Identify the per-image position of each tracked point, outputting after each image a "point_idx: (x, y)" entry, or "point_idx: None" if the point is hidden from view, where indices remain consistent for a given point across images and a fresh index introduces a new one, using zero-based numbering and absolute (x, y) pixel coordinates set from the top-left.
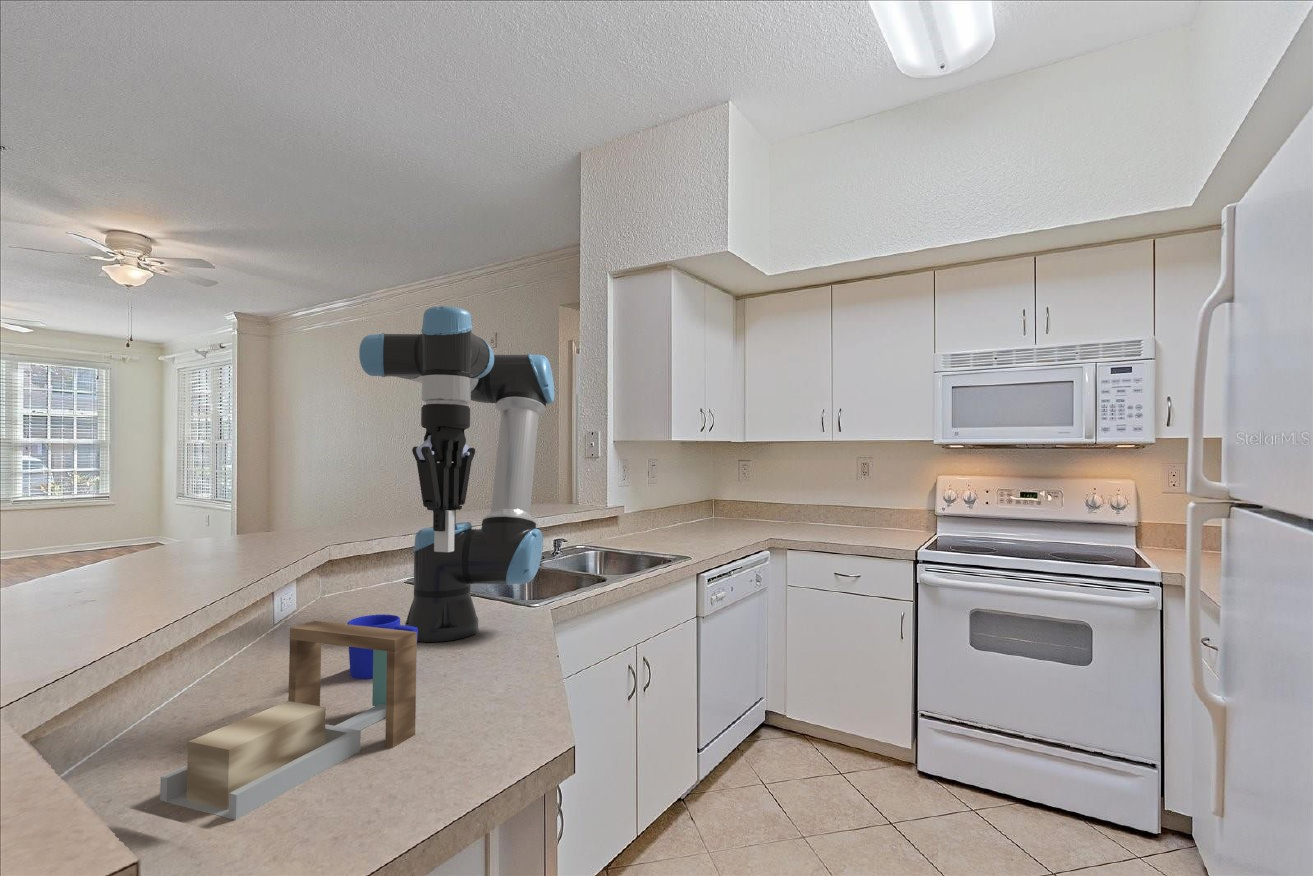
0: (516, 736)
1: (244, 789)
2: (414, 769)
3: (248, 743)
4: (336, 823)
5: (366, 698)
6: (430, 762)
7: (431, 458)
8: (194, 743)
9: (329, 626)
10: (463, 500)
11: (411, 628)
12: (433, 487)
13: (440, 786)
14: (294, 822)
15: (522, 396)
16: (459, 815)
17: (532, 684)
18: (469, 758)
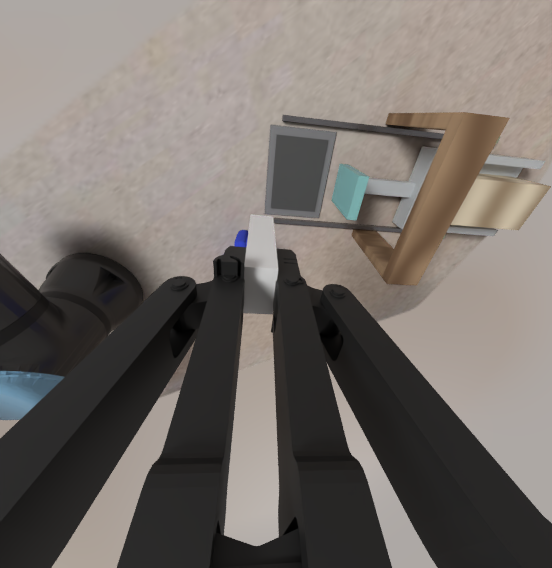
0: None
1: (537, 162)
2: (443, 74)
3: (534, 184)
4: (532, 82)
5: (290, 235)
6: (430, 64)
7: (546, 557)
8: (523, 223)
9: (414, 253)
10: (179, 284)
11: (243, 246)
12: (392, 344)
13: (488, 10)
14: (518, 123)
15: None
16: None
17: (193, 58)
18: (425, 14)
